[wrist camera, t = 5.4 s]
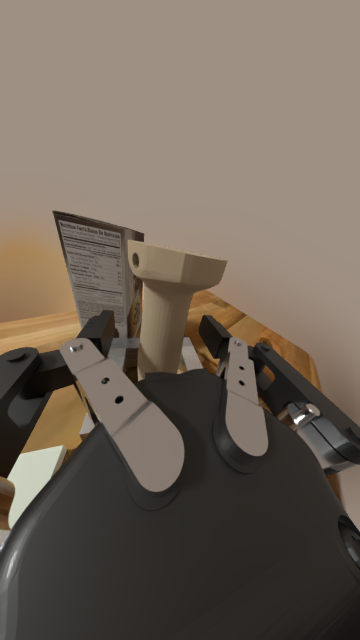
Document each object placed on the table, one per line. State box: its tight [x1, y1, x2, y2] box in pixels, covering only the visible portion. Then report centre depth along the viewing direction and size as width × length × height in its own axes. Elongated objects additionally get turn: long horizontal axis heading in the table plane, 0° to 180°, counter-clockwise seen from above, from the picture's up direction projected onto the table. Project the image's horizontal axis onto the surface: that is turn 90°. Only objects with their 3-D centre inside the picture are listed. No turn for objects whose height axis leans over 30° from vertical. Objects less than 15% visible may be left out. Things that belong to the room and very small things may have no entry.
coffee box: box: [52, 211, 144, 338], centre depth 19 cm, size 9×6×16 cm
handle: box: [128, 240, 227, 381], centre depth 11 cm, size 5×6×15 cm
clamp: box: [79, 337, 203, 441], centre depth 15 cm, size 11×10×4 cm
